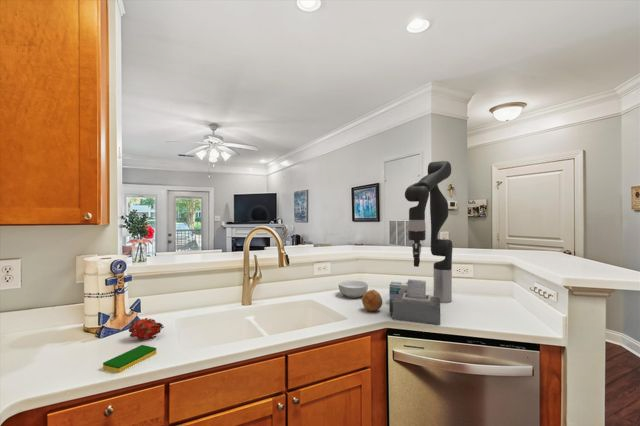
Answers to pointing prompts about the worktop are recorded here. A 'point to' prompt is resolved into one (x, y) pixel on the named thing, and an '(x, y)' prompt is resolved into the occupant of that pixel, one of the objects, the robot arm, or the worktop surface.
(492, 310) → the worktop surface
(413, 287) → the medicine box
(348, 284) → the cereal bowl
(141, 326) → the dragon fruit
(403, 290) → the light bulb box
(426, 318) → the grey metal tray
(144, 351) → the dish sponge
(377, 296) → the onion
